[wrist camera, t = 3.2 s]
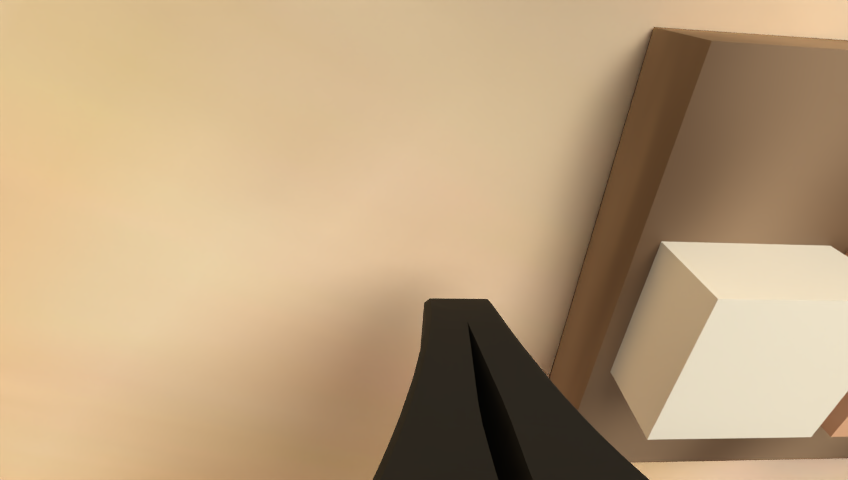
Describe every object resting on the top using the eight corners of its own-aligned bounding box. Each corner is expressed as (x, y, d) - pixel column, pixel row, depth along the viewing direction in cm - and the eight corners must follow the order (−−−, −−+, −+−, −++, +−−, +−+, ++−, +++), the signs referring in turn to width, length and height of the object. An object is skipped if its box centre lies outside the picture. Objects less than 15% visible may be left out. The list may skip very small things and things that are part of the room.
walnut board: (540, 409, 16) (558, 463, 14) (654, 27, 9) (711, 41, 8) (807, 406, 16) (856, 458, 15) (1070, 55, 10) (1205, 73, 9)
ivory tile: (610, 371, 12) (647, 439, 10) (661, 241, 10) (718, 299, 8) (752, 371, 12) (811, 436, 11) (830, 245, 10) (918, 301, 8)
